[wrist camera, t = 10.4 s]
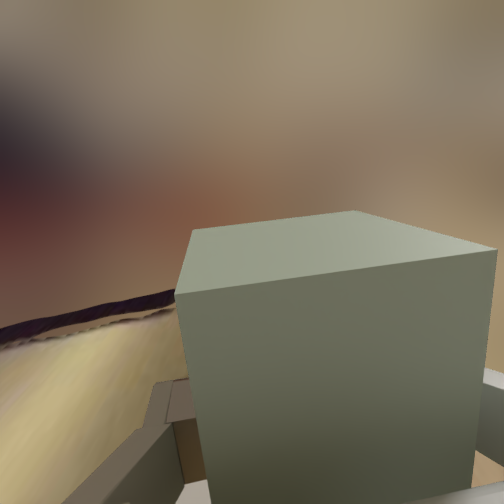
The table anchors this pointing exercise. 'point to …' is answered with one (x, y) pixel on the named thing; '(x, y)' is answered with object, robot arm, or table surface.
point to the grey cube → (195, 493)
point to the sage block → (335, 358)
